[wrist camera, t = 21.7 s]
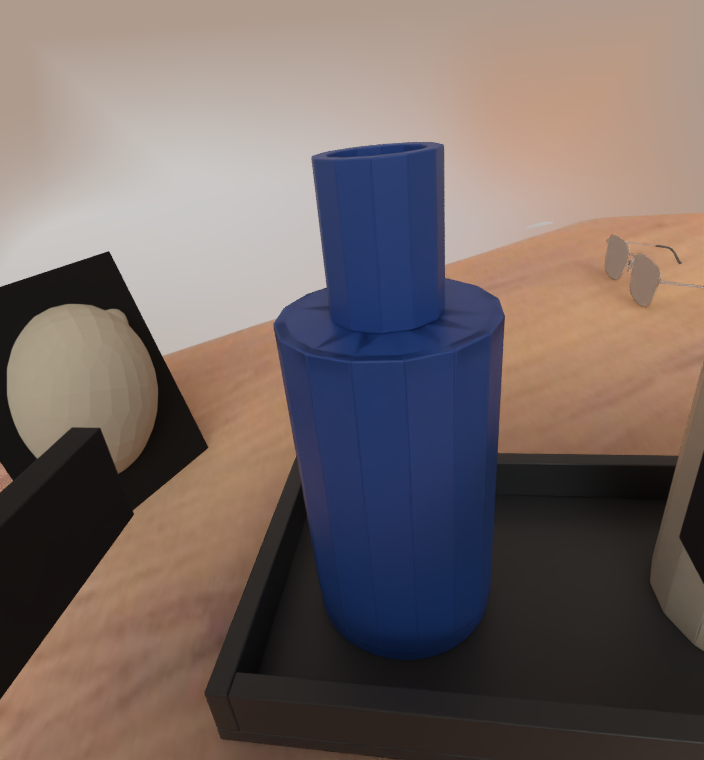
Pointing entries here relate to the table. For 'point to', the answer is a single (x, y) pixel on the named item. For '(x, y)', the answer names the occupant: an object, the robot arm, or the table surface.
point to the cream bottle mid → (670, 560)
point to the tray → (484, 637)
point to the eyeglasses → (636, 270)
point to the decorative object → (89, 376)
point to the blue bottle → (394, 407)
